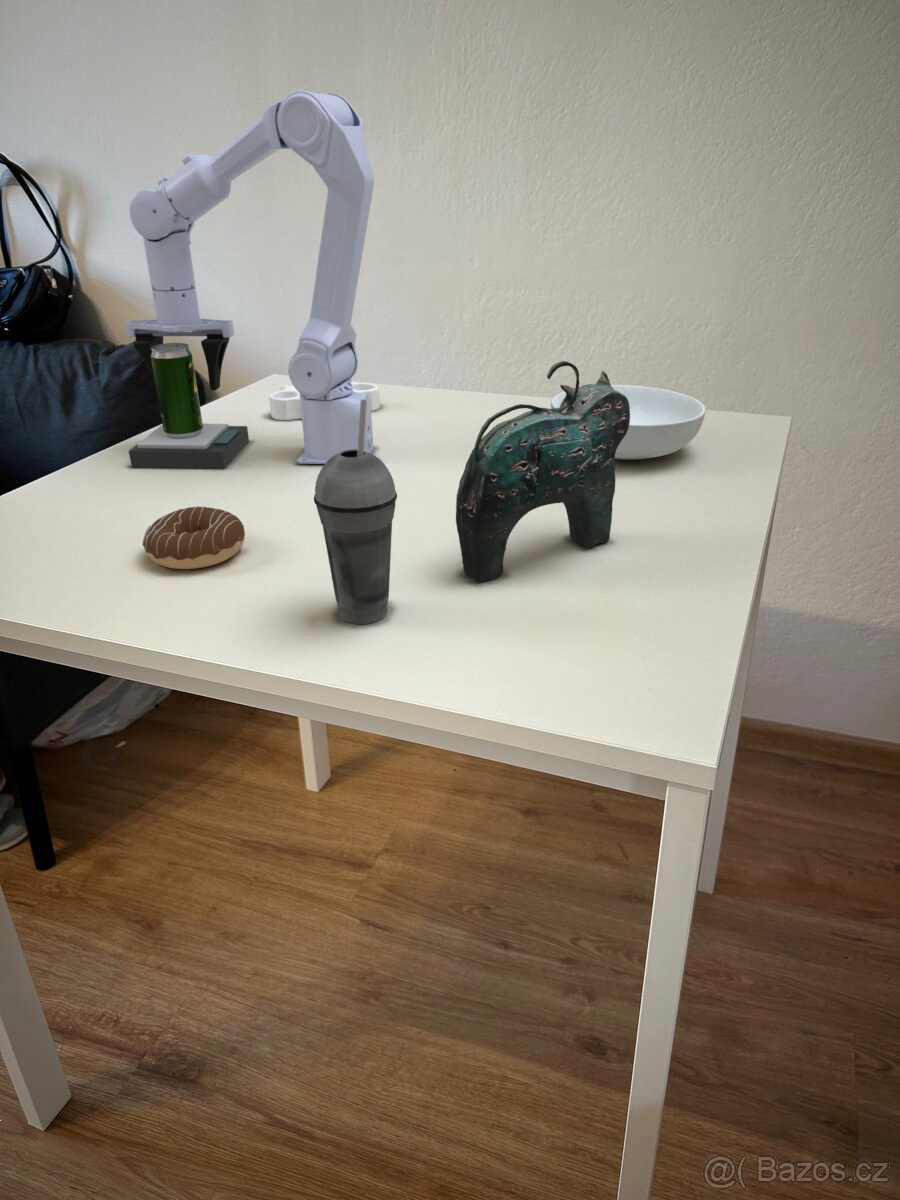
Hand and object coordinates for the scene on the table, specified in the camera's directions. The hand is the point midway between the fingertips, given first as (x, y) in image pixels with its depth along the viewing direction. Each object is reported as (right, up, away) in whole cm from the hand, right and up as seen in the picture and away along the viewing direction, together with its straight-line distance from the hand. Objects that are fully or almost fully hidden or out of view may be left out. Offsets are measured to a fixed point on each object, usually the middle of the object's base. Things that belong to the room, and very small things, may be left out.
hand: (189, 388), depth 123 cm
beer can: (0, -7, -2) cm, 7 cm away
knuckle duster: (+16, +1, +20) cm, 26 cm away
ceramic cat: (+47, -26, -32) cm, 62 cm away
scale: (+1, -9, 0) cm, 9 cm away
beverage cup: (+29, -31, -42) cm, 60 cm away
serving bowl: (+62, -9, -1) cm, 62 cm away
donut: (+10, -25, -30) cm, 41 cm away
